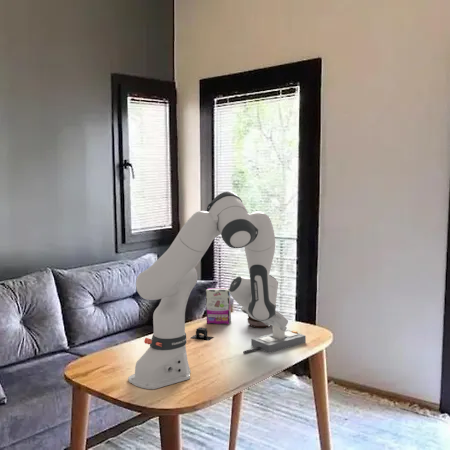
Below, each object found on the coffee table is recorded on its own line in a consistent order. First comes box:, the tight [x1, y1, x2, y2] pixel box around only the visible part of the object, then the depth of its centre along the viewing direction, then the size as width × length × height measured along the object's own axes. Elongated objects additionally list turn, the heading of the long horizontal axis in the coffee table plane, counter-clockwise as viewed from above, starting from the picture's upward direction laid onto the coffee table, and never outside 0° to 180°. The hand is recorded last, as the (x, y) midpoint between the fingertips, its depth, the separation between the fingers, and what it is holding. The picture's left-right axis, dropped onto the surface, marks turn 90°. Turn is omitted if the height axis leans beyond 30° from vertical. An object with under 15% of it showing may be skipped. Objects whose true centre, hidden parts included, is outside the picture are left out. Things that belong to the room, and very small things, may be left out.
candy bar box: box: [205, 287, 232, 325], centre depth 250 cm, size 11×5×16 cm, turn 81°
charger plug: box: [272, 325, 285, 340], centre depth 217 cm, size 3×4×8 cm
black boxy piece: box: [190, 327, 215, 342], centre depth 228 cm, size 12×7×5 cm, turn 65°
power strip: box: [242, 329, 307, 354], centre depth 215 cm, size 28×11×4 cm, turn 126°
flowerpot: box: [246, 305, 277, 329], centre depth 244 cm, size 14×15×20 cm
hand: (276, 327), depth 215 cm, fingers open, 8 cm apart
